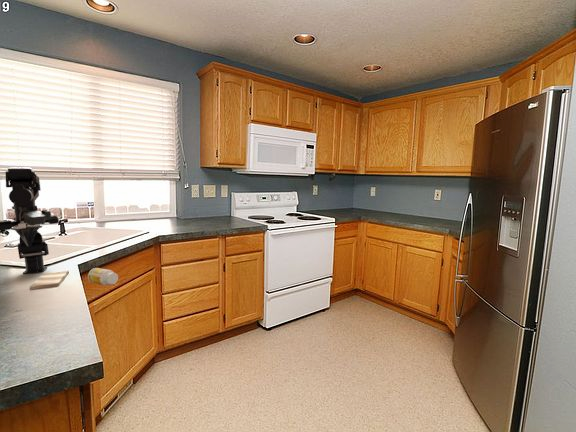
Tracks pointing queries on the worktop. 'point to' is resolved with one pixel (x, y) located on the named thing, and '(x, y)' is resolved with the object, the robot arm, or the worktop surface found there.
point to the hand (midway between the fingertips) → (29, 246)
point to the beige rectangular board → (49, 279)
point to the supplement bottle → (102, 276)
